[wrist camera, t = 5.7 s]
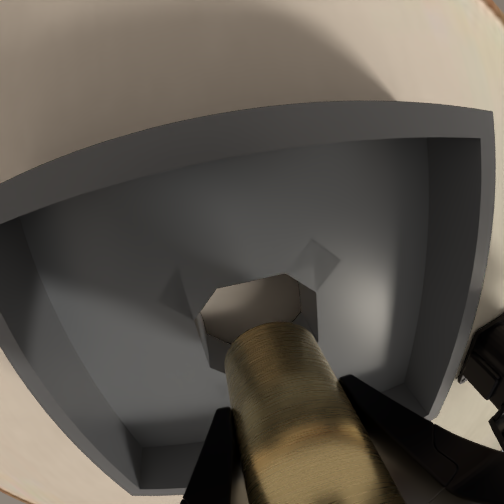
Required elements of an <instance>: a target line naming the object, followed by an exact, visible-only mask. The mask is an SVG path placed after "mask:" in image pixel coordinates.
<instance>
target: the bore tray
mask: <svg viewBox="0 0 504 504" xmlns="http://www.w3.org/2000/svg"><path fill="white" fill-rule="evenodd" d="M495 169H496V164H495V134H494V120H493V112H492V111H486V110H480V109H474V108H467V107H460V106H452V105H442V104H432V103H419V102H401V101H330V102H312V103H298V104H287V105H277V106H268V107H260V108H252V109H245V110H238V111H232V112H226V113H220V114H214V115H209V116H203V117H198V118H193V119H189V120H184V121H179V122H175V123H171V124H166V125H162V126H158V127H154V128H150V129H146V130H143V131H139V132H135V133H132V134H128V135H125V136H121V137H118V138H115V139H111V140H108V141H105V142H102V143H99V144H96V145H93V146H90V147H87V148H84V149H81V150H79V151H76V152H73V153H70V154H68V155H65V156H62V157H60V158H57V159H55V160H52V161H50V162H47V163H45V164H42V165H40V166H38V167H35V168H33V169H31V170H28V171H26V172H24V173H22V174H20V175H17V176H15V177H13V178H11V179H9V180H7V181H5V182H3V183H1V184H0V347H1V349H2V350H3V352H4V354H5V355H6V357H7V358H8V360H9V362H10V363H11V365H12V366H13V368H14V369H15V371H16V372H17V374H18V375H19V377H20V378H21V380H22V381H23V382H24V384H25V385H26V387H27V388H28V389H29V391H30V392H31V393H32V395H33V396H34V397H35V399H36V400H37V401H38V403H39V404H40V405H41V406H42V408H43V409H44V410H45V411H46V413H47V414H48V415H49V416H50V417H51V419H52V420H53V421H54V422H55V423H56V424H57V426H58V427H59V428H60V429H61V430H62V431H63V432H64V433H65V434H66V436H67V437H68V438H69V439H70V440H71V441H72V442H73V443H74V444H75V445H76V446H77V447H78V448H79V449H80V450H81V451H82V452H83V453H84V454H85V455H86V456H87V457H88V458H89V459H90V460H91V461H92V462H93V463H94V464H95V465H96V466H97V467H99V468H100V469H101V470H102V471H103V472H104V473H105V474H106V475H108V476H109V477H110V478H111V479H112V480H113V481H115V482H116V483H117V484H118V485H119V486H121V487H122V488H123V489H124V490H126V491H127V492H128V493H129V494H131V495H132V496H165V495H184V493H185V490H186V488H187V485H188V483H189V480H190V478H191V475H192V472H193V470H194V467H195V465H196V462H197V459H198V457H199V454H200V451H201V449H202V446H203V443H204V441H205V438H206V436H207V433H208V430H209V427H210V425H211V422H212V419H213V417H214V414H215V411H216V410H217V409H218V408H222V407H227V406H228V407H230V408H231V405H230V399H229V392H228V386H227V379H226V373H225V363H224V362H225V356H226V353H227V351H228V349H229V347H230V346H231V345H230V344H228V343H226V342H224V341H222V340H220V339H217V338H215V337H213V336H211V335H209V334H207V332H206V329H205V325H204V322H203V319H202V315H201V312H200V311H201V310H202V309H203V307H204V306H205V304H206V303H207V302H208V300H209V299H210V297H211V296H212V295H213V293H214V292H215V290H216V289H217V288H222V287H226V286H231V285H235V284H240V283H245V282H249V281H254V280H258V279H262V278H267V277H271V276H276V275H280V274H284V273H286V274H287V275H289V276H290V277H292V278H294V279H295V280H297V281H298V282H299V292H300V303H301V313H300V314H299V315H298V316H297V318H296V319H295V320H294V321H293V322H292V323H294V324H298V325H300V326H302V327H304V328H305V329H307V330H308V331H309V332H310V333H311V334H312V335H313V337H314V338H315V340H316V342H317V344H318V346H319V347H320V349H321V351H322V353H323V354H324V356H325V358H326V360H327V361H328V363H329V365H330V367H331V369H332V370H333V372H334V374H335V376H336V377H337V379H339V378H340V377H342V376H345V375H348V374H352V375H354V376H355V377H357V378H359V379H360V380H362V381H363V382H365V383H367V384H368V385H370V386H372V387H373V388H375V389H376V390H378V391H380V392H381V393H383V394H385V395H386V396H388V397H390V398H391V399H393V400H395V401H396V402H398V403H400V404H401V405H403V406H405V407H406V408H408V409H410V410H412V411H413V412H415V413H417V414H419V415H420V416H422V417H424V418H426V419H427V420H429V421H431V420H433V419H434V418H436V417H437V416H438V414H439V412H440V410H441V408H442V406H443V403H444V401H445V399H446V397H447V394H448V392H449V390H450V387H451V385H452V383H453V380H454V378H455V375H456V373H457V370H458V367H459V365H460V362H461V359H462V356H463V354H464V351H465V348H466V345H467V342H468V339H469V335H470V332H471V329H472V325H473V322H474V318H475V315H476V311H477V307H478V303H479V299H480V295H481V291H482V286H483V282H484V277H485V271H486V266H487V260H488V254H489V248H490V241H491V233H492V224H493V213H494V200H495Z"/></svg>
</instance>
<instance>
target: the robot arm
mask: <svg viewBox="0 0 504 504" xmlns="http://www.w3.org/2000/svg"><path fill="white" fill-rule="evenodd" d="M467 380H468V381H469V382H470V383H471V384H472V385H473V386H474V388H475V389H476V390H477V391H478V392H479V393H480V394H481V395H482V396H483V397H484V398H485V399H486V400H490V401H491V402H492V403H493V404H494V405H495V406H496V408H497V409H498V412H497V413H496V414H495V415H494V416H493V417H492V418H491V419H490V420H489V421H488V422H489V424H490V426H491V429H492V431H493V432H494V434H495V436H496V438H497V440H498V442H499V444H500V446H501V447H502V449H503V451H504V314H503V315H501V316H500V317H498V318H497V319H495V320H494V321H492V322H491V323H489V324H487V325H486V326H484V327H483V328H481V329H479V330H478V331H477V332H476V333H475V335H474V337H473V340H472V343H471V346H470V349H469V352H468V355H467V357H466V360H465V363H464V365H463V368H462V371H461V373H460V376H459V378H458V382H459V383H460V384H462V383H463V382H465V381H467ZM338 381H339V383H340V385H341V386H342V388H343V390H344V392H345V394H346V395H347V397H348V399H349V401H350V402H351V404H352V406H353V408H354V410H355V411H356V413H357V415H358V417H359V419H360V420H361V422H362V424H363V426H364V428H365V430H366V431H367V433H368V435H369V437H370V439H371V440H372V442H373V444H374V446H375V448H376V450H377V451H378V453H379V455H380V457H381V459H382V460H383V462H384V464H385V466H386V468H387V470H388V471H389V473H390V475H391V477H392V479H393V481H394V483H395V484H396V486H397V488H398V490H399V492H400V494H401V496H402V497H403V499H404V501H405V503H406V504H504V452H502V451H498V450H495V449H492V448H489V447H486V446H483V445H480V444H478V443H475V442H472V441H470V440H467V439H465V438H462V437H460V436H458V435H455V434H453V433H451V432H449V431H447V430H445V429H443V428H442V427H440V426H438V425H436V424H434V425H433V422H431V421H429V420H427V419H426V418H424V417H422V416H420V415H419V414H417V413H415V412H413V411H412V410H410V409H408V408H406V407H405V406H403V405H401V404H400V403H398V402H396V401H395V400H393V399H391V398H390V397H388V396H386V395H385V394H383V393H381V392H380V391H378V390H376V389H375V388H373V387H372V386H370V385H368V384H367V383H365V382H363V381H362V380H360V379H359V378H357V377H355V376H354V375H352V374H348V375H345V376H342V377H340V378H339V379H338ZM180 504H249V502H248V498H247V493H246V488H245V483H244V478H243V473H242V467H241V462H240V457H239V451H238V446H237V440H236V434H235V428H234V422H233V416H232V411H231V408H230V407H228V406H227V407H222V408H218V409H217V410H216V411H215V414H214V417H213V419H212V422H211V425H210V427H209V430H208V433H207V436H206V438H205V441H204V443H203V446H202V449H201V451H200V454H199V457H198V459H197V462H196V465H195V467H194V470H193V472H192V475H191V478H190V480H189V483H188V485H187V488H186V490H185V493H184V496H183V499H182V500H181V503H180Z"/></svg>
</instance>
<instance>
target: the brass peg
mask: <svg viewBox="0 0 504 504" xmlns="http://www.w3.org/2000/svg"><path fill="white" fill-rule="evenodd" d="M224 363H225V373H226V379H227V386H228V392H229V399H230V405H231V411H232V416H233V422H234V428H235V434H236V440H237V446H238V451H239V457H240V462H241V467H242V473H243V478H244V483H245V488H246V493H247V498H248V502H249V504H406V503H405V501H404V499H403V497H402V496H401V494H400V492H399V490H398V488H397V486H396V484H395V483H394V481H393V479H392V477H391V475H390V473H389V471H388V470H387V468H386V466H385V464H384V462H383V460H382V459H381V457H380V455H379V453H378V451H377V450H376V448H375V446H374V444H373V442H372V440H371V439H370V437H369V435H368V433H367V431H366V430H365V428H364V426H363V424H362V422H361V420H360V419H359V417H358V415H357V413H356V411H355V410H354V408H353V406H352V404H351V402H350V401H349V399H348V397H347V395H346V394H345V392H344V390H343V388H342V386H341V385H340V383H339V381H338V379H337V377H336V376H335V374H334V372H333V370H332V369H331V367H330V365H329V363H328V361H327V360H326V358H325V356H324V354H323V353H322V351H321V349H320V347H319V346H318V344H317V342H316V340H315V338H314V337H313V335H312V334H311V333H310V332H309V331H308V330H307V329H305V328H304V327H302V326H300V325H298V324H294V323H289V322H271V323H266V324H262V325H259V326H257V327H254V328H252V329H250V330H248V331H246V332H245V333H243V334H242V335H241V336H239V337H238V338H237V339H236V340H235V341H234V342H233V343H232V345H231V346H230V347H229V349H228V351H227V353H226V356H225V362H224Z"/></svg>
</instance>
